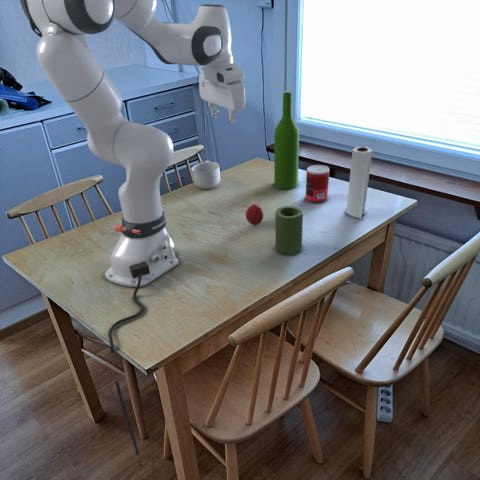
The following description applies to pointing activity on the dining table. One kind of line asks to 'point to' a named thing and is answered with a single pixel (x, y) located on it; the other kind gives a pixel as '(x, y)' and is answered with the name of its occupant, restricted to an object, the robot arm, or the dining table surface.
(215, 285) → the dining table surface
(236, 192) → the dining table surface
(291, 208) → the green cylindrical vase
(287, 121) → the wine bottle
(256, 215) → the onion
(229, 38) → the robot arm
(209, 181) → the teacup
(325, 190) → the canned food
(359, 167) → the paper towel roll
